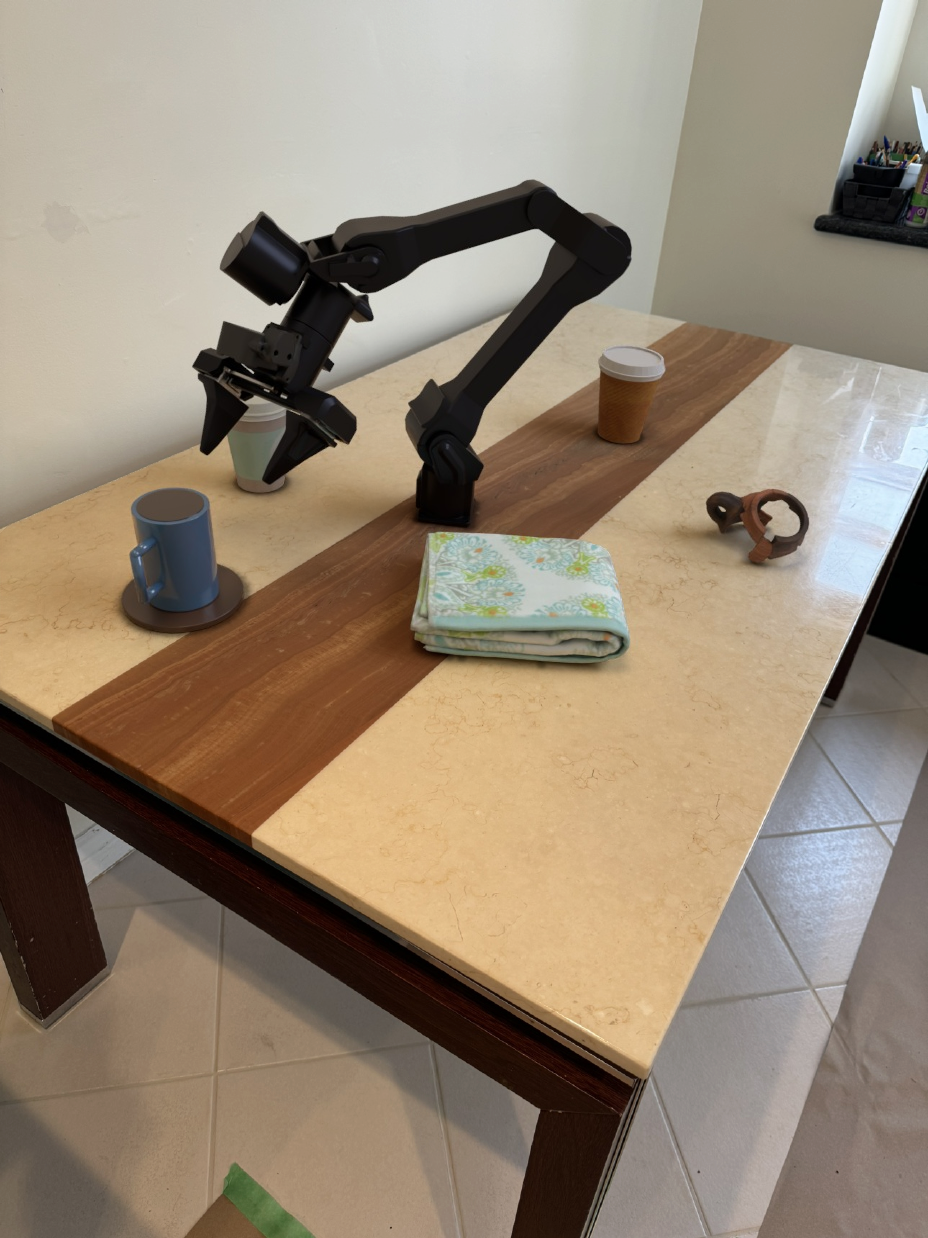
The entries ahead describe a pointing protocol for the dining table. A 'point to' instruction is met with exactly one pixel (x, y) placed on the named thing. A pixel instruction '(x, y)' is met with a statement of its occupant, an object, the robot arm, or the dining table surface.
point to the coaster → (187, 620)
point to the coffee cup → (257, 443)
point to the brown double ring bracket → (758, 520)
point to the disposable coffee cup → (626, 390)
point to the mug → (174, 550)
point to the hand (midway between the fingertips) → (233, 467)
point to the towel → (519, 599)
